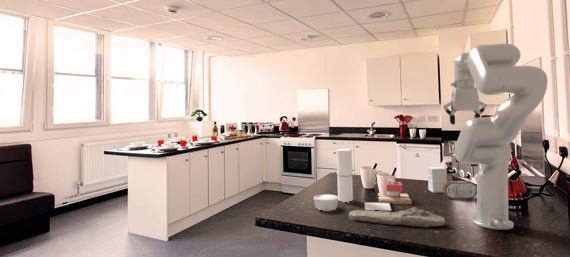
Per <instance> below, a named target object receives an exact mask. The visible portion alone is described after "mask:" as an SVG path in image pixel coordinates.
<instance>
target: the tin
mask: <svg viewBox="0 0 570 257" xmlns="http://www.w3.org/2000/svg"><path fill="white" fill-rule="evenodd" d="M443 192H444V193H443V194H444V195H445V196H446V197H447V198H449V199H455V200H456V199H457V200H459V199H463V200H466V199H468V200H469V199H474V198H475V197H477V184H475V183H473V182H472V181H471V180H470V181H469V180H449V181H447V183H446V184H445V185H444V187H443Z"/></svg>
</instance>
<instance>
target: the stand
mask: <svg viewBox="0 0 570 257" xmlns="http://www.w3.org/2000/svg"><path fill="white" fill-rule="evenodd" d="M390 182H391V184H396V182H397V181H396V180H391V181H390ZM380 193H381V192H378V193H377V197H378V196H379V197H378V201H379V203H389V204H391V203H392V204H393V205H394V204H395V205H397V204H398V205H399V204H400V205H412V204H413V203H412V199H411V198H410V196H409V194H408V193H402V192H401V191H387V190H386V193H387V196H382V195H380Z"/></svg>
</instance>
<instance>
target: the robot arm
mask: <svg viewBox="0 0 570 257" xmlns="http://www.w3.org/2000/svg"><path fill="white" fill-rule="evenodd" d="M520 58H521V51H520V49H519V48H518V47H517V46H516V45H514V44H511V43H494V44H493V43H492V44H481V45H480V44H479V45H476V46H474V47H472V48H471V49H470V50H469V52H464V53H463V52H462V53H460V54H459V55H458V56H457V57H456V58H455V59H454V63H453V64H454V66H453V68H454V82H451V83H450V85H451V87H453V89H452V92H451V97H450V98H451V99H450V100H451V101H449V102H448V103H446V104H443V106H442V108H443V109H444V112H445V113H446V114H447V115H449V123H450V124H451V125H455V124H456V115H455V114H456V112H463V111H465V112H467V111H472V112H474V117H473V118H470V119H468V120H466V121H465V122H464V124H463V126H462V128H461V129H460V132H459V136H458V138H457V141H456V144H455V146H454V157H455V159H456V161H457V162H458V163H459V164H463V165H482V166H481V167H480V168H479V170H478V172H477V174H476V186H477V194H476V216H473V217H472V219H471V221H472V223H473V224H475V225H476V226H479V227H483V228H484V229H485V228H487V229H491V230H498V231H500V230H501V231H502V230H503V231H504V230H511V229H513V228H514V227H515V226H514V222H513V221H511V220H509V166H510V160H511V157H512V146H511V143H512V142H514V140H516V138H517V136H518V134H519V133H520V131H521V130H522V128H523V126H524V124H525V123H526V122H527V119H528V117H529V116H530V115H531V114H532V113H533V112H534V111H535V110H536V109H537V107H538V106H539V105H540V104H541V103H542V101H543V99H544V97H545V95H546V93H547V89H548V76H547V73H546V72H545V71H544V69H542V68H540V67H537V66H532V65H517V64H518V63H519V61H520ZM479 93H480V94H483V95H485V96H499V95H500V96H501V95H511V96H510V97H508V98H506V99H505V100H503V101H502V102H501V103H500V104H499V105H498V106H497V107H496V110H495V112H494V114H493V115H492V116H486V117H481V114H482V113H484V111H485V110H486V107H487V106H488V104H487V103H485V102H482V101H481V100H480V98H479ZM480 106H481V107H480ZM449 107H450V109H449Z"/></svg>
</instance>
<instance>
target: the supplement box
mask: <svg viewBox="0 0 570 257" xmlns="http://www.w3.org/2000/svg"><path fill="white" fill-rule="evenodd" d="M427 181H428V182H427V183H428V184H427V185H428V188H427V189H428V191H430V192H431V193H433V194H434V193H439V194H444V192H443V187H444V185H445V184H446V183H447V182H448V170H447V168H446V167H443V166H427Z"/></svg>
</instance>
